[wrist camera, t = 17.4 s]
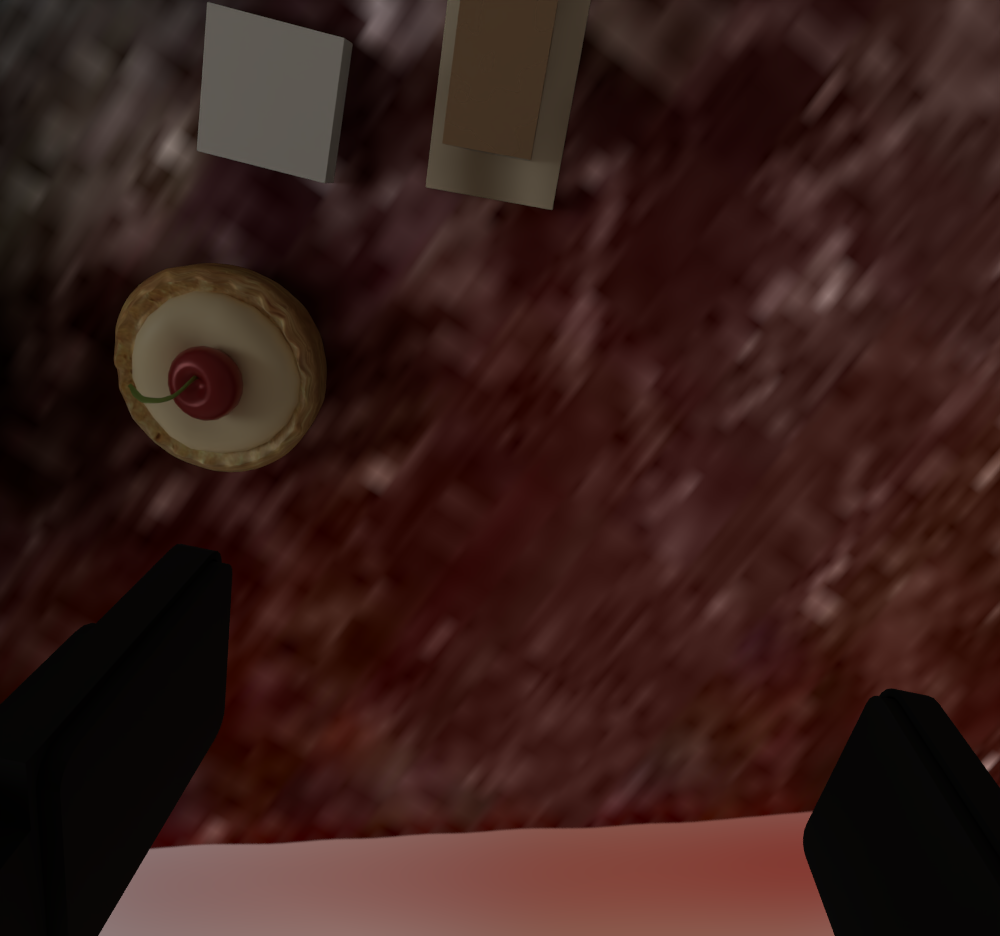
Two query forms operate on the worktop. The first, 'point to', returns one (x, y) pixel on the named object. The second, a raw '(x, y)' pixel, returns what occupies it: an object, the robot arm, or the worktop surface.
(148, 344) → the pastry
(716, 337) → the worktop surface
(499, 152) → the brown rectangular block
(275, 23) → the tile
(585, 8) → the board
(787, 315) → the worktop surface
